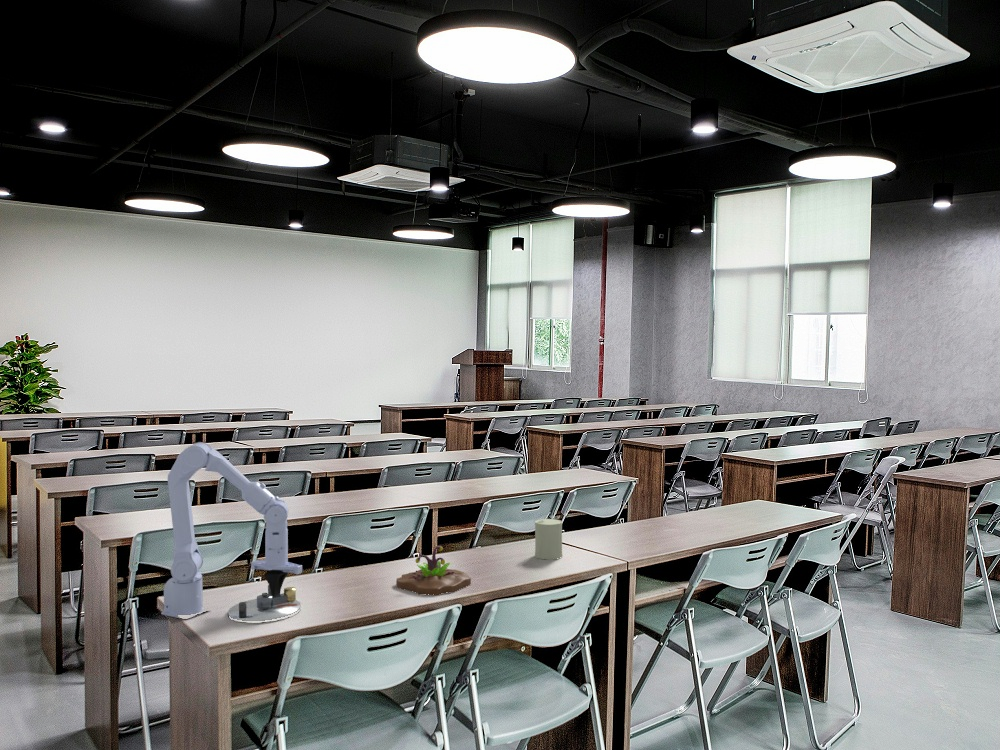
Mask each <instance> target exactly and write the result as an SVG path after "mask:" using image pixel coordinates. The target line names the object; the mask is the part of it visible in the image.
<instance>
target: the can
mask: <svg viewBox="0 0 1000 750" xmlns="http://www.w3.org/2000/svg"><path fill="white" fill-rule="evenodd" d="M534 534H535V535H534V537H535V539H534V540H535V541H534V542H535V544H534V546H535V547H534V549H535V551H534V553H535V554H534V557H535V558H536V559H539V560H544V559H546V560H547V559H549V560H548V561H551V560H550V559H554V560H558V559H557V558H559V559H561V558H560V557H562V558H563V557H564V554H563V521H562V520H560V519H556V518H542V519H537V520H535V521H534Z"/></svg>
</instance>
